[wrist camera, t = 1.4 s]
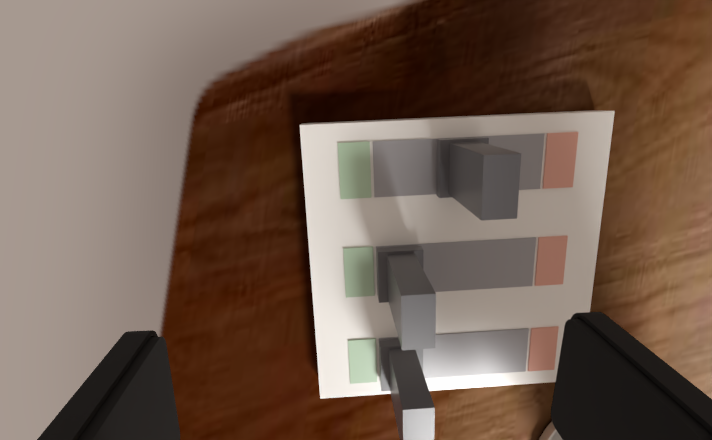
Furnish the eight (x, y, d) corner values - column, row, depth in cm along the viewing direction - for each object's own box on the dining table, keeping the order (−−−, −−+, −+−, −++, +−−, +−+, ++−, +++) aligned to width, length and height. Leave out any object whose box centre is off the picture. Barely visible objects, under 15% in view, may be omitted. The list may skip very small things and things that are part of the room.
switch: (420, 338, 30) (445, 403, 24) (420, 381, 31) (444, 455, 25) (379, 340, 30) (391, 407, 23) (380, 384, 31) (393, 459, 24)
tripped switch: (484, 136, 26) (534, 148, 20) (482, 192, 27) (528, 221, 21) (437, 138, 26) (471, 151, 20) (436, 195, 27) (469, 225, 21)
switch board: (595, 110, 29) (615, 110, 27) (567, 364, 34) (582, 381, 32) (301, 123, 28) (299, 125, 26) (320, 381, 33) (320, 399, 31)
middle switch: (421, 245, 28) (447, 289, 22) (421, 294, 29) (446, 350, 23) (376, 248, 28) (389, 292, 22) (377, 297, 29) (390, 354, 23)
